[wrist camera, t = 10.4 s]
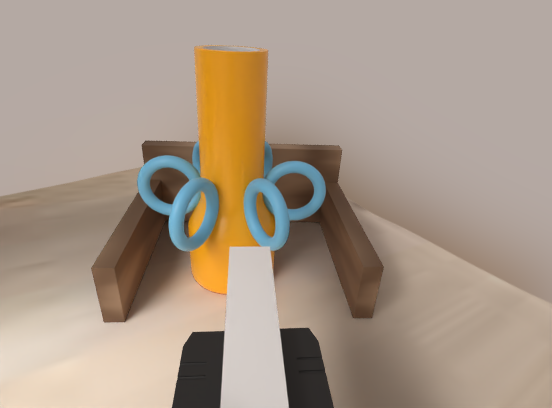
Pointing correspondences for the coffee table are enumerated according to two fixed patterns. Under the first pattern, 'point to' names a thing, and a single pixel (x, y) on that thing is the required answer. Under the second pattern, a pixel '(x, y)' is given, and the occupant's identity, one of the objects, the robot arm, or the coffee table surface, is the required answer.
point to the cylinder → (229, 169)
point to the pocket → (297, 193)
